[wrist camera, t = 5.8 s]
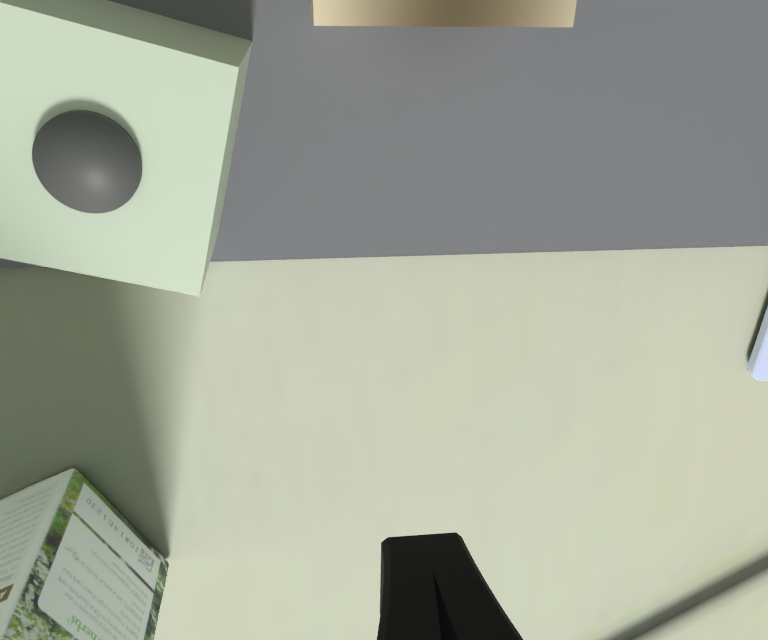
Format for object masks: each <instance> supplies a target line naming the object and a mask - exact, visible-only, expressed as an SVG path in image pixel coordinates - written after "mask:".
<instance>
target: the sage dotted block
mask: <svg viewBox="0 0 768 640" xmlns="http://www.w3.org/2000/svg"><path fill="white" fill-rule="evenodd" d="M252 42H253V41H250V40H247V39H243V38H240V37H236V36H233V35H229V34H225V33H222V32H218V31H215V30H211V29H208V28H204V27H201V26H197V25H194V24H190V23H187V22H183V21H179V20H176V19H172V18H169V17H165V16H162V15H158V14H155V13H151V12H148V11H144V10H141V9H137V8H133V7H130V6H126V5H123V4H119V3H116V2H112V1H109V0H0V258H3V259H8V260H13V261H18V262H23V263H29V264H34V265H39V266H44V267H49V268H54V269H60V270H65V271H70V272H75V273H80V274H86V275H91V276H96V277H101V278H106V279H111V280H117V281H122V282H127V283H132V284H137V285H142V286H148V287H153V288H158V289H163V290H168V291H174V292H179V293H184V294H189V295H194V296H199V297H200V293H201V290H202V287H203V283H204V280H205V276H206V273H207V270H208V266H209V263H210V259H211V256H212V252H213V249H214V246H215V242H216V239H217V235H218V232H219V227H220V222H221V216H222V211H223V205H224V199H225V194H226V188H227V182H228V177H229V171H230V165H231V160H232V154H233V149H234V143H235V137H236V132H237V126H238V120H239V115H240V109H241V104H242V98H243V92H244V87H245V81H246V75H247V70H248V64H249V58H250V53H251V47H252Z"/></svg>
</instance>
